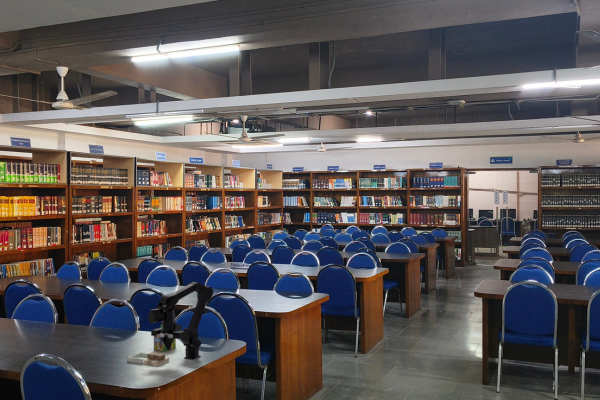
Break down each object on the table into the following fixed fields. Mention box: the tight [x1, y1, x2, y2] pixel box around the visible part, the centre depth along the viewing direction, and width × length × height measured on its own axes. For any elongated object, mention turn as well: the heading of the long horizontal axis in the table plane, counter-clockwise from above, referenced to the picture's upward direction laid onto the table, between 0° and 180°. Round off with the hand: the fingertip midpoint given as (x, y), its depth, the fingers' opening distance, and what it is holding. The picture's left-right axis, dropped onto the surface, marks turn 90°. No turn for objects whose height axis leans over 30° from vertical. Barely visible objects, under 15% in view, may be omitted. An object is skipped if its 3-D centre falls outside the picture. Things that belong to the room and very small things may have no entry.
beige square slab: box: [143, 356, 170, 367], centre depth 272 cm, size 9×9×2 cm
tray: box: [126, 351, 149, 365], centre depth 277 cm, size 10×10×2 cm
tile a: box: [154, 352, 166, 361], centre depth 271 cm, size 4×4×2 cm
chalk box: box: [153, 323, 177, 352], centre depth 299 cm, size 9×9×15 cm
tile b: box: [147, 351, 159, 360], centre depth 273 cm, size 4×4×2 cm
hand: (168, 350), depth 269 cm, fingers closed
